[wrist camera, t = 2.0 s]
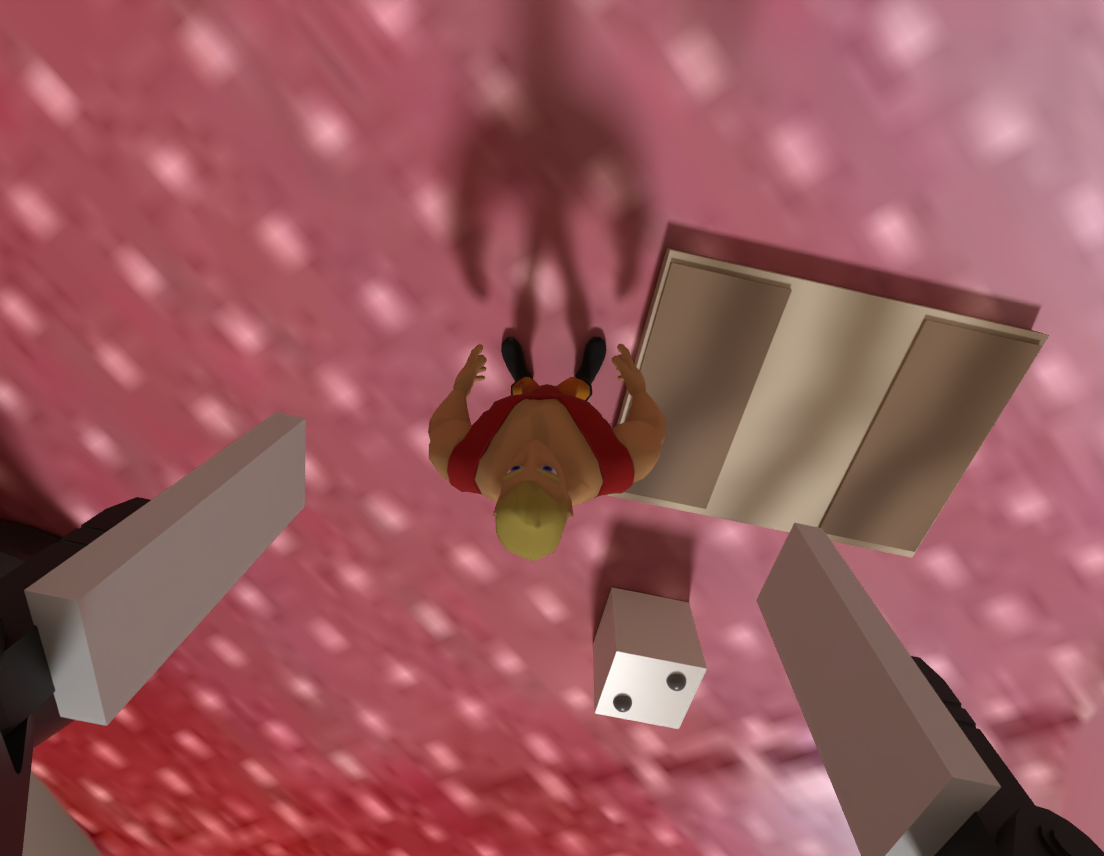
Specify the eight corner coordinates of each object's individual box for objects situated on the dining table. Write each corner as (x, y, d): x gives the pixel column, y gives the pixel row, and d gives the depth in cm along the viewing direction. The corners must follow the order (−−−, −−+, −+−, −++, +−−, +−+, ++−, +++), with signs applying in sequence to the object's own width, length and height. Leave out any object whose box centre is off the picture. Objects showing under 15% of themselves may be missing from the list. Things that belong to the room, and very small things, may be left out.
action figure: (649, 326, 26) (726, 477, 12) (644, 394, 27) (709, 597, 14) (459, 327, 26) (328, 473, 13) (465, 394, 28) (354, 590, 14)
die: (592, 644, 35) (594, 721, 30) (611, 587, 33) (617, 658, 28) (665, 658, 35) (680, 737, 30) (689, 602, 33) (709, 676, 28)
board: (599, 484, 30) (600, 495, 28) (666, 247, 24) (670, 250, 23) (901, 546, 30) (913, 559, 29) (1032, 330, 25) (1052, 336, 24)
